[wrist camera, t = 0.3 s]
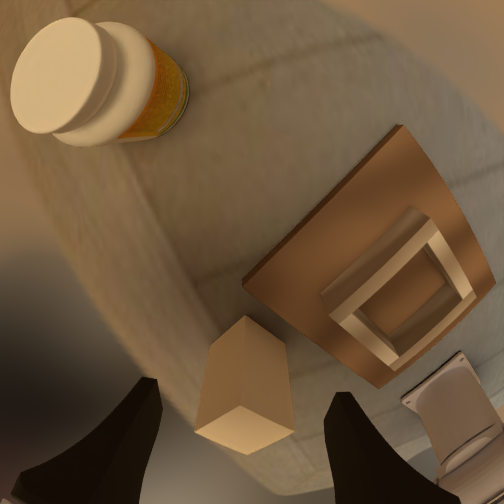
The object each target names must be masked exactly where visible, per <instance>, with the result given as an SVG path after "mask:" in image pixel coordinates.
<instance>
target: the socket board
mask: <svg viewBox="0 0 504 504" xmlns="http://www.w3.org/2000/svg"><path fill="white" fill-rule="evenodd" d="M495 284H496V282H495V279H494V277H493V274H492V272H491V270H490V267H489V265H488V263H487V260H486V258H485V256H484V254H483V252H482V250H481V247H480V245H479V243H478V241H477V239H476V237H475V235H474V233H473V231H472V229H471V227H470V225H469V223H468V222H467V220H466V218H465V216H464V214H463V212H462V211H461V209H460V207H459V205H458V204H457V202H456V200H455V198H454V197H453V195H452V193H451V192H450V190H449V188H448V187H447V185H446V184H445V182H444V180H443V179H442V177H441V176H440V174H439V173H438V171H437V170H436V168H435V167H434V165H433V164H432V162H431V161H430V159H429V158H428V157H427V155H426V154H425V152H424V151H423V149H422V148H421V147H420V145H419V144H418V143H417V141H416V140H415V139H414V137H413V136H412V135H411V133H410V132H409V131H408V129H407V128H406V127H405V126H404V125H396V126H395V127H394V128H393V129H392V130H391V131H390V132H389V133H388V134H387V135H386V136H385V137H384V138H383V139H382V140H381V141H380V142H379V143H378V144H377V146H376V147H375V148H374V149H373V150H372V151H371V152H370V153H369V154H368V155H367V156H366V157H365V158H364V159H363V160H362V161H361V162H360V163H359V164H358V165H357V166H356V167H355V168H354V169H353V170H352V171H351V172H350V173H349V174H348V175H347V176H346V177H345V178H344V179H343V180H342V181H341V182H340V183H339V184H338V185H337V186H336V187H335V188H334V189H333V190H332V191H331V192H330V193H329V194H328V195H327V196H326V197H325V198H324V199H323V200H322V201H321V202H320V203H319V204H318V205H317V206H316V207H315V208H314V209H313V210H312V211H311V212H310V213H309V214H308V215H307V216H306V217H305V218H304V219H303V220H302V221H301V222H300V223H299V224H298V225H297V226H296V227H295V228H294V229H293V230H292V231H291V232H290V233H289V234H288V235H287V236H286V237H285V238H284V239H283V240H282V241H281V242H280V243H279V244H278V245H277V246H276V247H275V248H274V249H273V250H272V251H271V252H270V253H269V254H268V255H267V256H266V257H265V258H264V259H263V260H262V261H261V262H260V263H259V264H258V265H257V266H256V267H255V268H254V269H253V270H252V271H251V272H250V273H249V274H248V275H247V276H246V277H244V278H243V281H242V287H243V288H244V289H245V290H247V291H248V292H249V293H250V294H252V295H253V296H254V297H255V298H257V299H258V300H259V301H261V302H262V303H263V304H264V305H266V306H267V307H268V308H270V309H271V310H272V311H274V312H275V313H276V314H277V315H279V316H280V317H281V318H283V319H284V320H285V321H287V322H288V323H289V324H291V325H292V326H293V327H294V328H296V329H297V330H298V331H300V332H301V333H302V334H304V335H305V336H306V337H308V338H309V339H310V340H312V341H313V342H314V343H316V344H317V345H318V346H320V347H321V348H322V349H324V350H325V351H327V352H328V353H329V354H331V355H332V356H333V357H335V358H336V359H337V360H339V361H340V362H342V363H343V364H344V365H346V366H347V367H348V368H350V369H351V370H353V371H354V372H355V373H357V374H358V375H359V376H361V377H362V378H364V379H365V380H366V381H368V382H369V383H371V384H372V385H374V386H375V387H376V388H378V389H380V388H381V387H382V386H384V385H385V384H386V383H388V382H389V381H391V380H392V379H393V378H395V377H396V376H397V375H399V374H400V373H401V372H403V371H404V370H405V369H406V368H408V367H409V366H410V365H411V364H413V363H414V362H415V361H416V360H418V359H419V358H420V357H421V356H422V355H424V354H425V353H426V352H427V351H428V350H429V349H431V348H432V347H433V346H434V345H435V344H436V343H438V342H439V341H440V340H441V339H442V338H443V337H444V336H445V335H446V334H447V333H449V332H450V331H451V330H452V329H453V328H454V327H455V326H456V325H457V324H458V323H459V322H460V321H461V320H462V319H463V318H464V317H465V316H466V315H467V314H468V313H469V312H470V311H471V310H472V309H473V308H474V307H475V306H476V305H477V304H478V303H479V302H480V301H481V299H482V298H483V297H484V296H485V295H486V294H487V293H488V292H489V291H490V290H491V288H492V287H493V286H494V285H495Z"/></svg>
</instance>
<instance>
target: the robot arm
mask: <svg viewBox="0 0 504 504" xmlns="http://www.w3.org/2000/svg"><path fill="white" fill-rule="evenodd" d="M480 383H481V381H480V379H479V378H478V376H477V374H476V373H475V371H474V370H473V368H472V366H471V365H470V363H469V361H468V360H467V358H466V357H465V355H464V354H463V352H459V353H458V354H456V355H455V356H454V357H453V358H452V359H451V360H450V361H449V362H447V363H446V364H445V365H444V366H443V367H442V368H440V369H439V370H438V371H437V372H436V373H434V374H433V375H432V376H431V377H429V378H428V379H427V380H426V381H424V382H423V383H422V384H420V385H419V386H418V387H416V388H415V389H414V390H412V391H411V392H410V393H408V394H407V395H406V396H404V397H403V398H402V399H401V402H402V404H404V405H405V406H407V407H408V408H410V409H411V410H412V411H414V412H415V413H417V414H418V415H419V416H420V418H421V420H422V423H423V425H424V427H425V430H426V432H427V434H428V437H429V439H430V442H431V444H432V446H433V449H434V451H435V454H436V456H437V459H438V461H439V464H440V467H439V468H437V469H436V470H435V471H436V474H437V477H436V478H435V479H434V481H433V482H431V481H429V480H428V479H427V478H425V477H424V476H423V475H421V474H420V473H419V472H417V471H416V470H415V469H414V468H412V467H411V466H410V465H409V464H408V463H407V462H406V461H405V460H404V459H402V458H401V457H400V456H399V455H398V454H397V453H396V452H395V450H394V449H393V448H392V447H391V446H390V445H389V444H388V443H387V441H386V440H385V439H384V438H383V437H382V435H381V434H380V433H379V432H378V430H377V429H376V428H375V426H374V425H373V424H372V423H371V421H370V420H369V418H368V417H367V416H366V414H365V413H364V411H363V410H362V408H361V407H360V405H359V404H358V403H357V401H356V400H355V398H354V397H353V395H352V394H351V392H336V394H335V396H334V398H333V401H332V403H331V405H330V407H329V410H328V412H327V414H326V416H325V418H324V433H325V443H326V448H327V453H328V458H329V462H330V467H331V472H332V477H333V482H334V489H335V502H336V504H487V503H488V502H490V501H491V500H493V499H494V498H496V497H497V496H499V495H500V494H501V493H503V492H504V423H503V422H502V421H501V419H500V417H499V415H498V414H497V412H496V410H495V409H494V407H493V405H492V404H491V402H490V401H489V399H488V397H487V396H486V394H485V393H484V391H483V389H482V388H481V386H480ZM162 411H163V407H162V402H161V398H160V393H159V387H158V382H157V379H153V378H147V377H142V378H140V380H139V381H138V382H137V383H136V385H135V386H134V387H133V388H132V390H131V391H130V392H129V393H128V395H127V396H126V397H125V398H124V399H123V400H122V401H121V403H120V404H119V405H118V406H117V407H116V408H115V409H114V410H113V411H112V412H111V414H109V415H108V416H107V417H106V418H105V419H104V420H103V421H102V422H101V423H100V424H99V425H98V426H97V427H96V428H95V429H94V430H92V432H90V433H89V434H88V435H87V436H85V437H84V438H83V439H82V440H80V441H79V442H77V443H76V444H75V445H73V446H72V447H70V448H69V449H67V450H66V451H64V452H63V453H61V454H59V455H57V456H56V457H54V458H52V459H50V460H48V461H47V462H45V463H42V464H40V465H38V466H35V467H33V468H30V469H28V470H26V471H23V472H21V473H20V475H19V476H18V478H17V480H16V483H15V485H14V487H13V490H12V492H11V496H12V497H13V498H14V499H15V500H17V501H18V502H19V503H21V504H139V499H140V492H141V487H142V482H143V477H144V473H145V469H146V467H147V464H148V460H149V457H150V454H151V451H152V448H153V445H154V442H155V439H156V436H157V433H158V430H159V426H160V421H161V416H162ZM1 504H12V503H10V502H9V501H7V500H5V499H3V500H2V502H1ZM491 504H504V495H503V496H501V497H500V498H498V499H497V500H495V501H494V502H492V503H491Z"/></svg>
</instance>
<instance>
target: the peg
mask: <svg viewBox="0 0 504 504" xmlns="http://www.w3.org/2000/svg"><path fill="white" fill-rule="evenodd" d="M194 432H196V433H198V434H200V435H202V436H204V437H206V438H208V439H210V440H213V441H215V442H217V443H219V444H222V445H224V446H226V447H229V448H231V449H233V450H236V451H238V452H241V453H243V454H246V455H248V454H250V453H252V452H255V451H257V450H259V449H261V448H263V447H265V446H268V445H270V444H272V443H274V442H276V441H278V440H280V439H282V438H284V437H286V436H288V435H290V434H291V433H293V432H295V427H294V418H293V408H292V399H291V390H290V381H289V372H288V363H287V354H286V346H285V343H284V342H282V341H281V340H279V339H278V338H277V337H275V336H274V335H272V334H271V333H270V332H268V331H267V330H265V329H264V328H263V327H261V326H260V325H259V324H257V323H256V322H254V321H253V320H252V319H250V318H249V317H248V316H246V315H244V316H243V317H242V318H241V319H240V320H239V321H238V322H236V323H235V324H234V325H233V326H232V327H231V328H230V329H229V330H227V331H226V332H225V333H224V334H223V335H222V336H221V337H219V338H218V339H217V340H216V341H215V342H214V343H213V344H211V345H210V349H209V355H208V360H207V365H206V370H205V375H204V381H203V386H202V391H201V397H200V402H199V408H198V413H197V419H196V424H195V430H194Z"/></svg>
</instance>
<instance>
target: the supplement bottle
mask: <svg viewBox="0 0 504 504" xmlns="http://www.w3.org/2000/svg"><path fill="white" fill-rule="evenodd" d="M188 96H189V86H188V81H187V77H186V75H185V73H184V71H183V70H182V69H181V67H180V66H179V65H178V64H177V63H176V62H175V61H174V60H173V59H171V58H170V57H169V56H168V55H167V54H165V53H164V52H163V51H162V50H161V49H159V48H158V47H157V46H156V45H155V44H154V43H152V42H151V41H150V40H149V39H147V38H146V37H145V36H143V35H142V34H141V33H140V32H138V31H137V30H136V29H134V28H132V27H130V26H128V25H125V24H122V23H117V22H102V23H97V24H93V23H91V22H89V21H87V20H84V19H81V18H74V17H70V18H64V19H60V20H57V21H55V22H53V23H51V24H49V25H48V26H46V27H45V28H43V29H42V30H41V31H39V32H38V33H37V34H36V35H35V36H34V37H33V38H32V39H31V41H30V42H29V43H28V44H27V46H26V47H25V49H24V51H23V52H22V54H21V55H20V57H19V60H18V62H17V64H16V67H15V70H14V73H13V76H12V82H11V105H12V109H13V112H14V115H15V117H16V118H17V120H18V122H19V123H20V124H21V125H22V126H23V127H24V128H25V129H27V130H28V131H30V132H33V133H36V134H49V133H52V134H53V135H54V136H55V137H56V138H58V139H59V140H61V141H62V142H64V143H66V144H69V145H72V146H77V147H93V146H101V145H108V144H115V143H122V142H132V141H143V140H148V139H152V138H155V137H158V136H160V135H162V134H164V133H165V132H167V131H168V130H169V129H171V128H172V127H173V126H174V124H175V123H176V122H177V121H178V120H179V118H180V117H181V115H182V114H183V112H184V110H185V107H186V105H187V101H188Z"/></svg>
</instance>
